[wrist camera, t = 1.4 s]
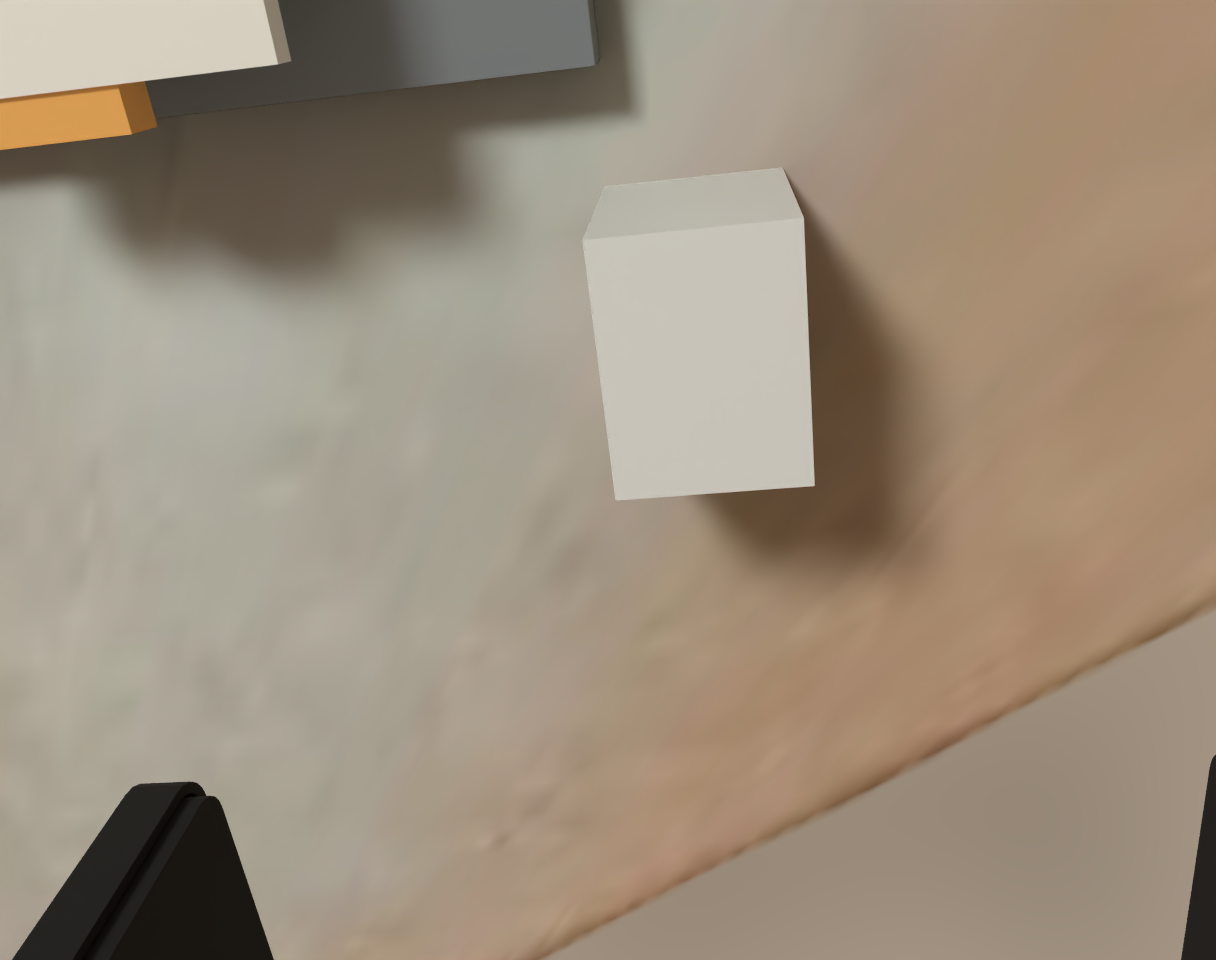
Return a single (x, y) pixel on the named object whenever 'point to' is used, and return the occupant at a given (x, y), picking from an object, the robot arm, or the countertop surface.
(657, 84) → the countertop surface
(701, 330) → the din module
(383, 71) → the rail mount
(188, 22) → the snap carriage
